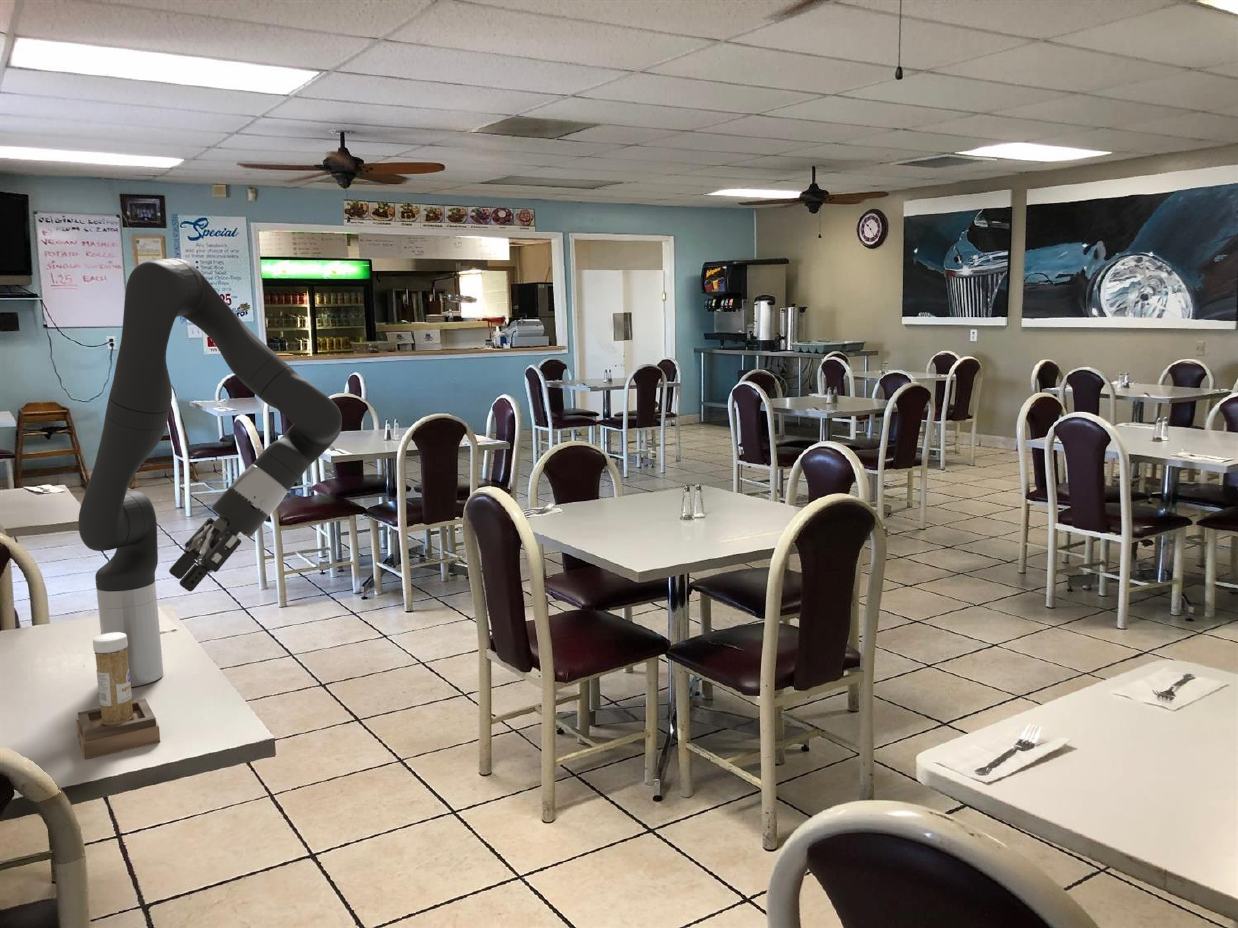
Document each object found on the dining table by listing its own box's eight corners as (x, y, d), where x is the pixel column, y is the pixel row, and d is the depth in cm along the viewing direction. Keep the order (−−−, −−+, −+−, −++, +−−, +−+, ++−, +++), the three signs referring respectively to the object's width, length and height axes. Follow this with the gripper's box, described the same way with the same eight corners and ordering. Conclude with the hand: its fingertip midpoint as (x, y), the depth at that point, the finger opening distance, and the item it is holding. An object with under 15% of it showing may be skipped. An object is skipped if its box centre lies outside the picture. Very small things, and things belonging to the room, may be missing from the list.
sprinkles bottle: (136, 722, 148) (128, 637, 146) (102, 730, 145) (94, 643, 143) (132, 712, 151) (124, 629, 149) (99, 719, 149) (90, 634, 147)
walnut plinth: (77, 735, 149) (75, 712, 149) (148, 719, 155) (146, 697, 154) (85, 759, 141) (82, 735, 141) (160, 741, 147) (158, 718, 146)
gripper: (221, 479, 159) (150, 558, 154) (243, 491, 147) (167, 577, 143) (257, 507, 163) (189, 585, 158) (281, 521, 151) (208, 606, 146)
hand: (179, 581), depth 150 cm, fingers open, 8 cm apart
